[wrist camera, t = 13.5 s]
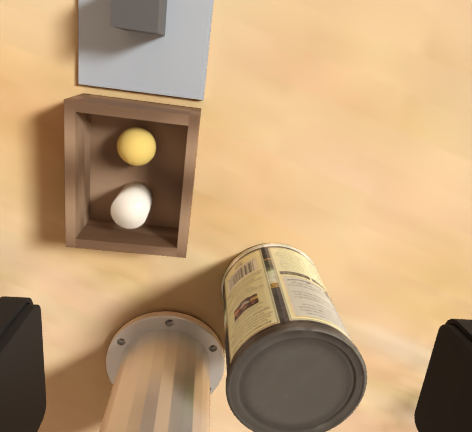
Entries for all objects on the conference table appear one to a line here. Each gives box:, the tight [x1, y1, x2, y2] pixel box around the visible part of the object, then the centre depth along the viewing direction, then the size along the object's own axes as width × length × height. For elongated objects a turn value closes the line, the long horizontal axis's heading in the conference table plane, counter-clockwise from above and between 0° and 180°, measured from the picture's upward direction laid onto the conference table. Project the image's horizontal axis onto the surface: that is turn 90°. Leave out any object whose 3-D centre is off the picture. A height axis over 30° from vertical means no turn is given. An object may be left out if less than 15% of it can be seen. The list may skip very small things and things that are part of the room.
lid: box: [78, 0, 214, 100], centre depth 31 cm, size 12×10×6 cm
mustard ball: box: [117, 127, 156, 166], centre depth 35 cm, size 3×3×3 cm
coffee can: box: [221, 243, 367, 432], centre depth 37 cm, size 10×10×14 cm
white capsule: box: [111, 181, 154, 229], centre depth 37 cm, size 3×3×4 cm
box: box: [64, 93, 201, 258], centre depth 36 cm, size 12×10×5 cm
